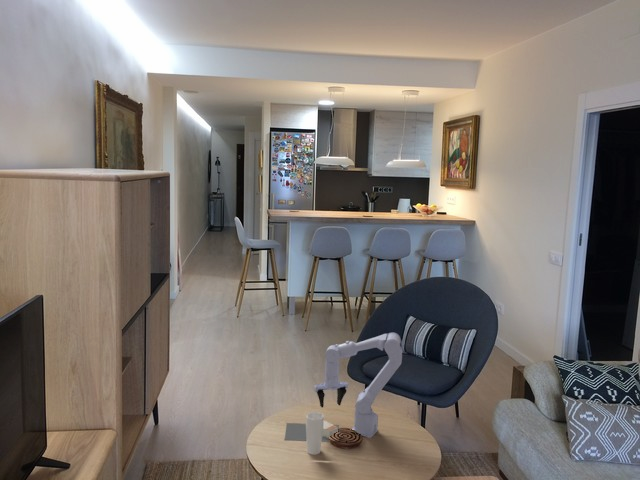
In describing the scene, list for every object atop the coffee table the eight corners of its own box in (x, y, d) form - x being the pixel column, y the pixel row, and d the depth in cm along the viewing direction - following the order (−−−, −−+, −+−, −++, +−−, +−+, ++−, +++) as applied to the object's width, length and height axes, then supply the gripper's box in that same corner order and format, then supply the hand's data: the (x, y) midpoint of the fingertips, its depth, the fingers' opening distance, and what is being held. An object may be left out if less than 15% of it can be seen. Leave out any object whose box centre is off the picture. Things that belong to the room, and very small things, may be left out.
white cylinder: (324, 449, 206) (326, 413, 204) (318, 458, 200) (320, 421, 198) (308, 446, 209) (309, 410, 206) (302, 454, 202) (303, 417, 200)
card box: (314, 430, 219) (314, 423, 219) (322, 426, 223) (323, 419, 222) (329, 438, 213) (329, 431, 213) (337, 434, 217) (338, 427, 216)
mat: (338, 426, 225) (338, 424, 225) (339, 443, 211) (339, 442, 211) (286, 424, 225) (286, 422, 225) (284, 441, 211) (284, 439, 211)
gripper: (318, 380, 215) (317, 411, 217) (351, 376, 220) (349, 407, 222) (312, 373, 222) (311, 404, 224) (345, 370, 227) (343, 400, 229)
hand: (330, 405), depth 223 cm, fingers open, 7 cm apart
